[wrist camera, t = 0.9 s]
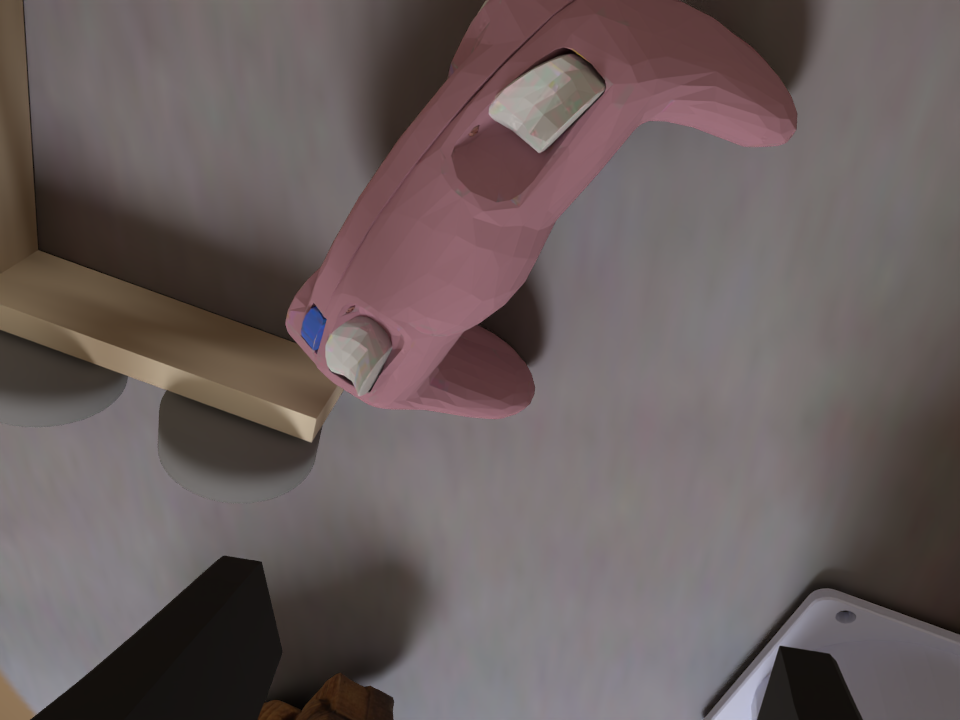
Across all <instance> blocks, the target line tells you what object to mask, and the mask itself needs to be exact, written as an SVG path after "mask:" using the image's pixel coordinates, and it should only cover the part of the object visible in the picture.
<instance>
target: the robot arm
mask: <svg viewBox="0 0 960 720" xmlns="http://www.w3.org/2000/svg"><path fill="white" fill-rule="evenodd" d="M845 610H846V611H848V612H840V611H845ZM281 655H282V647H281V643H280V639H279V634H278V630H277V626H276V621H275V617H274V613H273V608H272V604H271V600H270V596H269V591H268V587H267V583H266V578H265V574H264V570H263V565H262V562H260V561H254V560H248V559H241V558H235V557H229V556H222V557H221V558H220V559H218V560H217V561H216V562H215V563H214V564H213V565H211V566H210V567H209V568H208V569H207V570H206V571H205V572H203V573H202V574H201V575H200V576H199V577H198V578H197V579H196V580H194V581H193V582H192V583H191V584H190V585H189V586H188V587H187V588H186V589H184V590H183V591H182V592H181V593H180V594H179V595H178V596H177V597H175V598H174V599H173V600H172V601H171V602H170V603H169V604H168V605H166V606H165V607H164V608H163V609H162V610H161V611H160V612H159V613H157V614H156V615H155V616H154V617H153V618H152V619H151V620H150V621H148V622H147V623H146V624H145V625H144V626H143V627H142V628H141V629H139V630H138V631H137V632H136V633H135V634H134V635H132V636H131V637H130V638H129V639H128V640H127V641H125V642H124V643H123V644H122V645H121V646H120V647H118V648H117V649H116V650H115V651H114V652H113V653H111V654H110V655H109V656H108V657H107V658H106V659H104V660H103V661H102V662H101V663H100V664H99V665H97V666H96V667H95V668H94V669H93V670H91V671H90V672H89V673H88V674H87V675H86V676H84V677H83V678H82V679H81V680H79V681H78V682H77V683H76V684H75V685H73V686H72V687H71V688H70V689H68V690H67V691H66V692H65V693H63V694H62V695H61V696H59V697H58V698H57V699H56V700H54V701H53V702H52V703H51V704H49V705H48V706H47V707H46V708H44V709H43V710H42V711H41V712H39V713H38V714H37V715H36V716H34V717H33V718H32V719H30V720H258V717H259V714H260V712H261V709H262V707H263V704H264V701H265V699H266V696H267V694H268V691H269V688H270V686H271V683H272V680H273V677H274V674H275V672H276V669H277V666H278V663H279V660H280V658H281ZM703 720H960V635H959V634H956V633H954V632H951V631H948V630H945V629H942V628H940V627H937V626H934V625H931V624H929V623H926V622H923V621H920V620H918V619H915V618H912V617H909V616H907V615H904V614H901V613H898V612H896V611H893V610H890V609H887V608H884V607H882V606H879V605H876V604H873V603H871V602H868V601H865V600H862V599H860V598H857V597H854V596H851V595H849V594H846V593H843V592H840V591H837V590H834V589H829V588H823V589H818V590H815V591H814V592H812V593H811V594H810V595H809V596H808V597H807V598H806V599H805V600H804V602H803V603H802V604H801V605H800V606H799V607H798V609H797V610H796V611H795V612H794V613H793V615H792V616H791V617H790V618H789V619H788V620H787V622H786V623H785V624H784V625H783V626H782V627H781V629H780V630H779V631H778V632H777V633H776V635H775V636H774V637H773V638H772V639H771V640H770V642H769V643H768V644H767V645H766V646H765V647H764V649H763V650H762V651H761V652H760V653H759V655H758V656H757V657H756V658H755V659H754V660H753V662H752V663H751V664H750V665H749V666H748V667H747V669H746V670H745V671H744V672H743V673H742V675H741V676H740V677H739V678H738V679H737V680H736V682H735V683H734V684H733V685H732V686H731V687H730V689H729V690H728V691H727V692H726V693H725V695H724V696H723V697H722V698H721V699H720V700H719V702H718V703H717V704H716V705H715V706H714V707H713V709H712V710H711V711H710V712H709V713H708V715H707V716H706V717H705V718H704V719H703Z"/></svg>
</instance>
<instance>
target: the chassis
mask: <svg viewBox="0 0 960 720" xmlns="http://www.w3.org/2000/svg"><path fill="white" fill-rule="evenodd" d="M128 376H129V377H132V378H135V379H138V380H140V381H143V382H146V383H149V384H151V385H154V386H157V387H160V388H162V389H165V390H167V391H166V392H165V394H164V396H163V398H162V400H161V404H160V410H159V428H158V455H159V458H160V462H161V464H162V466H163V468H164V469H165V471H166V472H167V473H168V475H169V476H170V477H171V478H172V479H173V480H174V481H175V482H176V483H178V484H179V485H180V486H182V487H183V488H185V489H186V490H188V491H190V492H192V493H194V494H196V495H198V496H201V497H204V498H207V499H210V500H214V501H219V502H225V503H255V502H261V501H266V500H270V499H273V498H276V497H278V496H281V495H283V494H285V493H287V492H289V491H291V490H292V489H294V488H295V487H296V486H298V485H299V484H300V483H301V482H302V481H303V480H304V479H305V478H306V477H307V476H308V474H309V473H310V471H311V469H312V467H313V465H314V461H315V458H316V453H317V448H318V444H319V439H320V434H321V430H322V425H323V423H324V422H325V420H326V418H327V417H328V415H329V413H330V412H331V410H332V408H333V407H334V405H335V404H336V402H337V400H338V399H339V397H340V395H341V394H342V392H343V391H344V389H342V388H341V387H339V386H337V385H336V384H334V383H333V382H332V381H331V380H330V379H328V378H327V377H326V376H325V375H324V374H323V373H322V372H321V371H320V370H319V369H318V368H317V366H316V364H315V363H314V362H313V361H312V360H311V359H310V357H309V356H308V355H307V354H306V353H305V352H304V351H303V349H302V348H301V347H300V346H299V345H298V344H297V343H294V342H291V341H288V340H286V339H283V338H280V337H277V336H275V335H272V334H269V333H266V332H264V331H261V330H258V329H255V328H252V327H250V326H247V325H244V324H241V323H239V322H236V321H233V320H230V319H228V318H225V317H222V316H219V315H216V314H214V313H211V312H208V311H205V310H203V309H200V308H197V307H194V306H192V305H189V304H186V303H183V302H180V301H178V300H175V299H172V298H169V297H167V296H164V295H161V294H158V293H156V292H153V291H150V290H147V289H144V288H142V287H139V286H136V285H133V284H131V283H128V282H125V281H122V280H119V279H117V278H114V277H111V276H108V275H106V274H103V273H100V272H97V271H95V270H92V269H89V268H86V267H83V266H81V265H78V264H75V263H72V262H70V261H67V260H64V259H61V258H59V257H56V256H53V255H50V254H47V253H45V252H42V251H39V250H38V240H37V224H36V208H35V192H34V176H33V160H32V144H31V128H30V112H29V96H28V80H27V64H26V48H25V32H24V16H23V0H0V423H2V424H7V425H12V426H20V427H51V426H59V425H64V424H69V423H73V422H77V421H80V420H83V419H86V418H88V417H91V416H93V415H95V414H97V413H99V412H101V411H103V410H104V409H106V408H107V407H109V406H110V405H111V404H112V403H113V402H115V401H116V400H117V399H118V397H119V396H120V395H121V394H122V392H123V390H124V389H125V386H126V384H127V379H128Z"/></svg>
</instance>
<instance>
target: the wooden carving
mask: <svg viewBox="0 0 960 720" xmlns="http://www.w3.org/2000/svg"><path fill="white" fill-rule="evenodd" d="M393 705H394V700H393V697H391V696H389V695H387V694H385V693H384V692H382V691H380V690H378V689H375V688H373V687H371V686H367V687H363V686H361V685H359V684H357V683H355V682H354V681H352V680H350V679H349V678H347V677H346V676H345V675H343V674H342V673H338V674H336V675H334V676H333V677H332V678H330V679H329V680H327V681H326V682H325V684H324V685H323V686H322V688H321V689H320V690H319V691H318V692H317V693H316V694H315V695H314V696H313V697H312V698H311V699H310V701H309V702H308V703H307V704H306V705H305V706H304V708H303V710H300V709H298V708H296V707H294V706H292V705H289V704H287V703H285V702H282V701H280V700H272V701H269V702H265V703H264V704H263V707H262V709H261V712H260V714H259V717H258V720H393Z"/></svg>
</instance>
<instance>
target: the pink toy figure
mask: <svg viewBox="0 0 960 720" xmlns="http://www.w3.org/2000/svg"><path fill="white" fill-rule="evenodd" d="M647 121H667V122H671V123H676V124H680V125H685V126H690V127H693V128H696V129H699V130H701V131H704V132H707V133H709V134H712V135H714V136H717V137H720V138H722V139H725V140H728V141H730V142H733V143H736V144H738V145H741V146H745V147H768V146H778V145H781V144H784V143H786V142H788V140H789V139H790V138H791V137H792V135H793V134H794V132H795V131H796V129H797V111H796V108H795V105H794V103H793V100H792V97H791V95H790V94H789V92H788V90H787V89H786V87H785V86H784V84H783V82H782V81H781V79H780V77H779V76H778V75H777V74H776V73H775V72H774V71H773V69H772V68H771V67H770V66H769V64H768V63H767V62H766V61H765V60H764V59H763V58H762V57H761V56H760V55H759V54H758V53H757V52H756V51H755V50H754V49H753V48H752V47H751V46H750V45H749V44H747V43H746V42H745V41H743V40H742V39H740V38H739V37H738V36H736V35H735V34H733V33H732V32H731V31H729V30H728V29H727V28H725V27H724V26H723V25H722V24H721V23H720V22H718V21H717V20H716V19H714V18H713V17H711V16H709V15H707V14H705V13H703V12H701V11H699V10H697V9H695V8H693V7H691V6H689V5H687V4H685V3H683V2H681V1H679V0H486V1H485V3H484V4H483V6H482V7H481V9H480V10H479V12H478V14H477V15H476V17H475V18H474V19H473V20H472V22H471V24H470V26H469V28H468V30H467V31H466V33H465V35H464V37H463V39H462V41H461V43H460V45H459V47H458V49H457V51H456V54H455V56H454V58H453V60H452V62H451V65H450V70H449V74H448V79H447V81H446V82H445V83H444V84H443V85H442V87H441V88H440V89H439V90H438V91H437V93H436V94H435V95H434V96H433V98H432V99H431V100H430V101H429V102H428V104H427V105H426V106H425V107H424V109H423V110H422V111H421V112H420V113H419V115H418V116H417V117H416V118H415V120H414V121H413V122H412V123H411V124H410V126H409V127H408V128H407V129H406V131H405V132H404V133H403V134H402V135H401V137H400V138H399V139H398V141H397V142H396V144H395V145H394V147H393V148H392V150H391V151H390V153H389V154H388V155H387V157H386V158H385V160H384V161H383V163H382V164H381V166H380V167H379V169H378V170H377V172H376V173H375V175H374V176H373V177H372V179H371V180H370V182H369V183H368V185H367V186H366V188H365V189H364V191H363V192H362V194H361V195H360V196H359V198H358V200H357V202H356V203H355V205H354V207H353V208H352V210H351V212H350V214H349V215H348V217H347V219H346V221H345V222H344V224H343V226H342V228H341V229H340V231H339V233H338V235H337V236H336V238H335V240H334V242H333V244H332V246H331V248H330V250H329V252H328V254H327V256H326V258H325V260H324V262H323V264H322V266H321V267H320V268H319V269H318V270H317V271H316V272H315V273H314V274H313V275H312V276H311V277H310V278H309V279H308V280H307V281H306V282H305V283H304V285H303V286H302V287H301V288H300V289H299V291H298V292H297V293H296V295H295V297H294V299H293V301H292V303H291V305H290V307H289V309H288V312H287V317H286V323H285V325H286V328H287V331H288V333H289V334H290V336H291V337H292V338H293V339H294V340H295V341H296V342H297V344H298V345H299V346H300V347H301V348H302V349H303V351H304V352H305V353H306V354H307V355H308V356H309V357H310V359H311V360H312V361H313V362H314V363H315V364H316V366H317V368H318V369H319V370H320V371H321V372H322V373H323V374H324V375H325V376H326V377H327V378H328V379H330V380H331V381H332V382H333V383H334V384H336V385H337V386H339V387H341V388H342V389H344V390H346V391H347V392H349V393H350V394H352V395H354V396H355V397H357V398H359V399H360V400H362V401H364V402H365V403H367V404H369V405H371V406H374V407H377V408H384V409H415V410H430V411H436V412H442V413H448V414H454V415H460V416H466V417H474V418H487V419H501V418H504V417H508V416H511V415H514V414H517V413H518V412H520V411H522V410H523V409H525V408H526V407H527V406H528V405H529V404H530V403H531V400H532V398H533V396H534V392H535V385H534V382H533V378H532V374H531V372H530V370H529V368H528V367H527V365H526V363H525V361H523V360H522V359H521V357H520V356H519V355H518V354H517V353H516V351H515V350H514V349H513V348H512V347H511V346H510V345H508V344H507V343H506V342H504V341H503V340H502V339H500V338H499V337H498V336H496V335H495V334H494V333H492V332H490V331H488V330H486V329H484V328H482V327H480V326H478V325H477V324H479V323H480V322H482V321H483V320H485V319H486V318H487V317H489V316H490V315H491V314H493V313H494V312H496V311H497V310H498V309H500V308H501V307H502V306H504V305H505V304H506V303H507V302H508V300H509V299H510V298H511V297H512V296H513V295H514V294H515V293H516V291H517V290H518V289H519V288H520V287H521V286H522V285H523V283H524V282H525V281H526V279H527V277H528V275H529V273H530V272H531V270H532V268H533V266H534V264H535V262H536V260H537V258H538V256H539V254H540V252H541V250H542V248H543V246H544V244H545V242H546V240H547V238H548V236H549V234H550V232H551V230H552V228H553V226H554V224H555V222H556V220H557V219H558V218H559V217H560V216H561V214H562V213H563V212H564V211H565V210H566V209H567V208H568V207H569V206H570V205H571V203H572V202H573V201H574V200H575V199H576V198H577V197H578V196H579V195H580V193H581V192H582V191H583V190H584V189H585V188H586V187H587V186H588V185H589V183H590V182H591V181H592V180H593V179H594V178H595V177H596V176H597V175H598V173H599V172H600V171H601V170H602V168H603V167H604V166H605V165H606V164H607V162H608V161H609V160H610V159H611V158H612V156H613V155H614V154H615V153H616V152H617V150H618V149H619V148H620V147H621V146H622V144H623V143H624V142H625V141H626V140H627V138H628V137H629V136H630V135H631V133H632V132H633V131H634V130H635V129H636V128H637V127H638V126H639V125H641V124H643V123H645V122H647Z"/></svg>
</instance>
